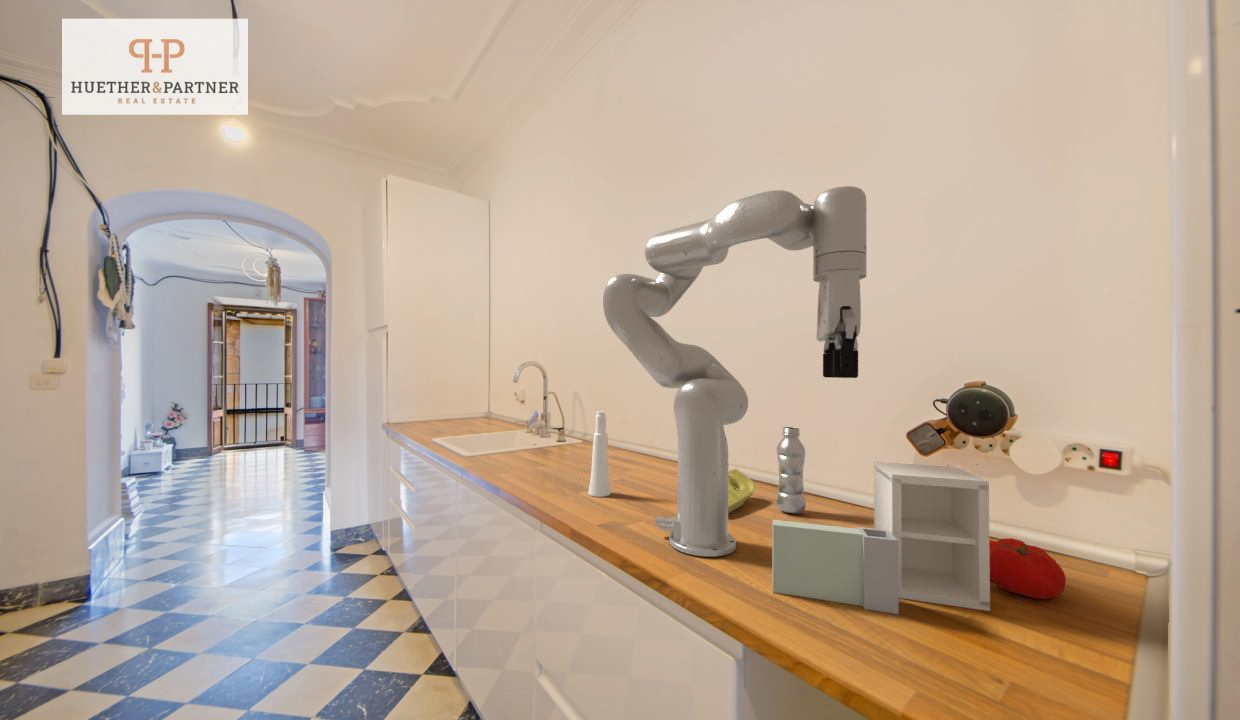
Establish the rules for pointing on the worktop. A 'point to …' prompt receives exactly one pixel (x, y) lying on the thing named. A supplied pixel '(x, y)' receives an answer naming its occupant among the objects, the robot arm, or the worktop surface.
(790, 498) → the plastic bottle
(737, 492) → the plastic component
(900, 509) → the cabinet
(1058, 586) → the tomato
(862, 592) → the storage box
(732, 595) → the worktop surface
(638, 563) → the worktop surface
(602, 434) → the cosmetic bottle
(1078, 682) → the worktop surface
